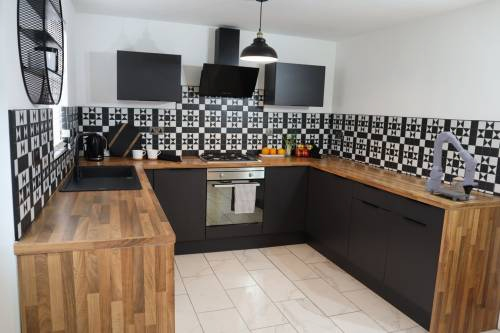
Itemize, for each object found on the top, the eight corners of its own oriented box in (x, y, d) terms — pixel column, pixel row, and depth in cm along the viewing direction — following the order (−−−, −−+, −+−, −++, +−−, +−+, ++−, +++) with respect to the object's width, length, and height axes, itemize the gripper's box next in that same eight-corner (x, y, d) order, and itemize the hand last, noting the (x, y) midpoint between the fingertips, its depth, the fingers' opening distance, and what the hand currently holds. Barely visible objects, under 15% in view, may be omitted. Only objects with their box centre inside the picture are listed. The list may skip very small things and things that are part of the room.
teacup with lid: (454, 189, 298) (456, 174, 296) (466, 191, 291) (468, 176, 289) (446, 190, 291) (448, 175, 289) (459, 193, 284) (461, 177, 282)
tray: (457, 194, 277) (457, 192, 277) (474, 199, 263) (475, 196, 262) (443, 195, 273) (443, 192, 273) (460, 200, 259) (461, 197, 259)
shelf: (443, 193, 278) (444, 188, 277) (468, 201, 257) (469, 195, 256) (429, 194, 274) (430, 188, 274) (454, 201, 253) (455, 195, 253)
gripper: (465, 177, 262) (463, 197, 264) (482, 177, 266) (480, 196, 268) (457, 175, 269) (455, 195, 271) (474, 175, 273) (471, 194, 275)
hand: (466, 195), depth 270 cm, fingers closed
